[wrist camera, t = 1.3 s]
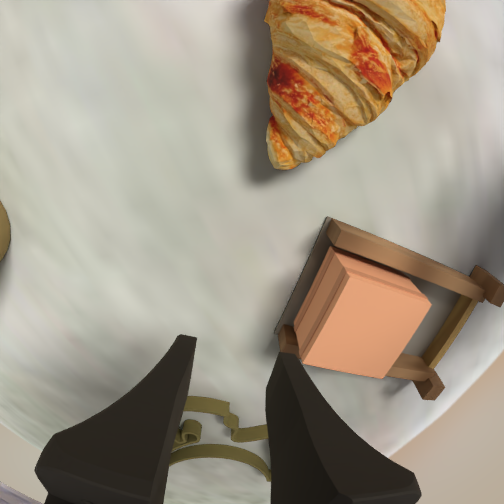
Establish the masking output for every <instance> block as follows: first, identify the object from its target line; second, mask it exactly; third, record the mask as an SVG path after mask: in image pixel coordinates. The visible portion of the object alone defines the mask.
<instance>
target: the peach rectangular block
mask: <svg viewBox="0 0 504 504" xmlns="http://www.w3.org/2000/svg"><path fill="white" fill-rule="evenodd" d="M431 305H432V304H431V303H430V302H429V301H428V298H427V297H426V296H425V295H424V294H422V293H421V292H420V291H419V290H418V288H417V287H416V286H415V285H414V284H413V283H412V282H411V279H410V278H409V277H408V276H406V275H405V274H404V273H402V272H400V271H397V270H394V269H392V268H389V267H386V266H384V265H381V264H378V263H376V262H373V261H370V260H368V259H365V258H362V257H360V256H357V255H354V254H351V253H349V252H346V251H343V250H340V249H338V248H335V247H332V246H330V247H329V249H328V252H327V254H326V256H325V258H324V260H323V262H322V265H321V267H320V269H319V271H318V273H317V275H316V277H315V279H314V282H313V284H312V286H311V288H310V290H309V292H308V294H307V296H306V298H305V300H304V302H303V304H302V306H301V308H300V310H299V312H298V314H297V316H296V318H295V320H294V331H295V333H296V335H297V340H298V345H299V349H300V350H299V355H300V357H301V359H302V363H303V364H307V365H312V366H317V367H321V368H326V369H331V370H336V371H341V372H347V373H352V374H357V375H363V376H369V377H375V378H381V379H383V378H384V376H385V375H386V373H387V372H388V371H389V369H390V368H391V367H392V365H393V364H394V362H395V361H396V360H397V358H398V357H399V355H400V354H401V352H402V351H403V349H404V348H405V346H406V345H407V343H408V342H409V340H410V339H411V337H412V336H413V334H414V333H415V331H416V330H417V328H418V326H419V325H420V323H421V322H422V320H423V318H424V317H425V315H426V314H427V312H428V310H429V309H430V307H431Z"/></svg>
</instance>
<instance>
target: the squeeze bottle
mask: <svg viewBox="0 0 504 504" xmlns="http://www.w3.org/2000/svg"><path fill="white" fill-rule="evenodd" d="M9 242H10V223H9V220H8V216H7V213H6V210H5V208H4V207H3V205H2V203H1V201H0V261H1V260H2V258H3V256H4V255H5V253H6V251H7V250H8V246H9Z"/></svg>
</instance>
